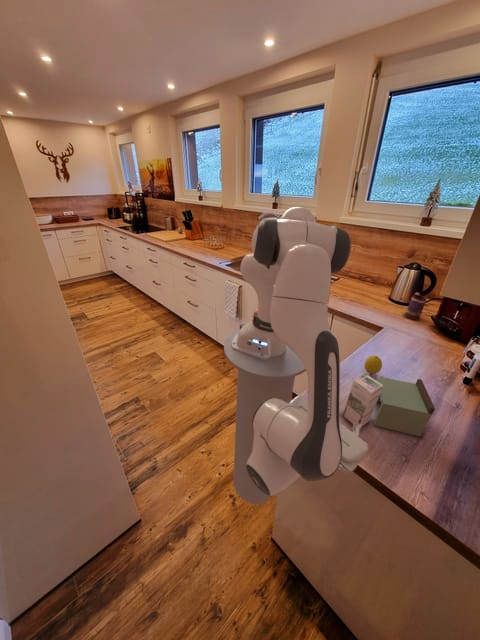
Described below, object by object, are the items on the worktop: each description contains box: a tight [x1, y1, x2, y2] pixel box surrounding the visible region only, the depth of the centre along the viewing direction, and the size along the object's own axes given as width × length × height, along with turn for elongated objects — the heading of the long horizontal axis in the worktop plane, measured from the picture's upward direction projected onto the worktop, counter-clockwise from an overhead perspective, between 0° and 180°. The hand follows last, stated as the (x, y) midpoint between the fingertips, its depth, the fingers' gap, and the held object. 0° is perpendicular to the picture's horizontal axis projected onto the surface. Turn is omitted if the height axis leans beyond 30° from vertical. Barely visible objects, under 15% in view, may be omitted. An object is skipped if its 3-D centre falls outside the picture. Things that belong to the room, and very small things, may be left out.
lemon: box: [363, 355, 383, 375], centre depth 95 cm, size 6×6×8 cm
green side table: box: [373, 375, 436, 437], centre depth 78 cm, size 12×12×11 cm
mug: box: [404, 292, 427, 321], centre depth 138 cm, size 10×7×12 cm
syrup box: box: [342, 373, 383, 427], centre depth 75 cm, size 6×6×14 cm
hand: (342, 412), depth 68 cm, fingers open, 8 cm apart
